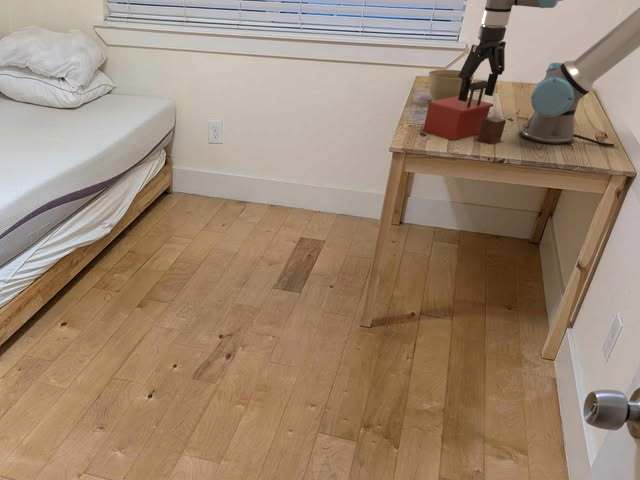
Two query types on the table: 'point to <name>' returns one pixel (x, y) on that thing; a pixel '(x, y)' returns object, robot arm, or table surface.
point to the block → (491, 130)
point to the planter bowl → (444, 84)
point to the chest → (454, 122)
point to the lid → (469, 104)
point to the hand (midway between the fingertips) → (475, 98)
